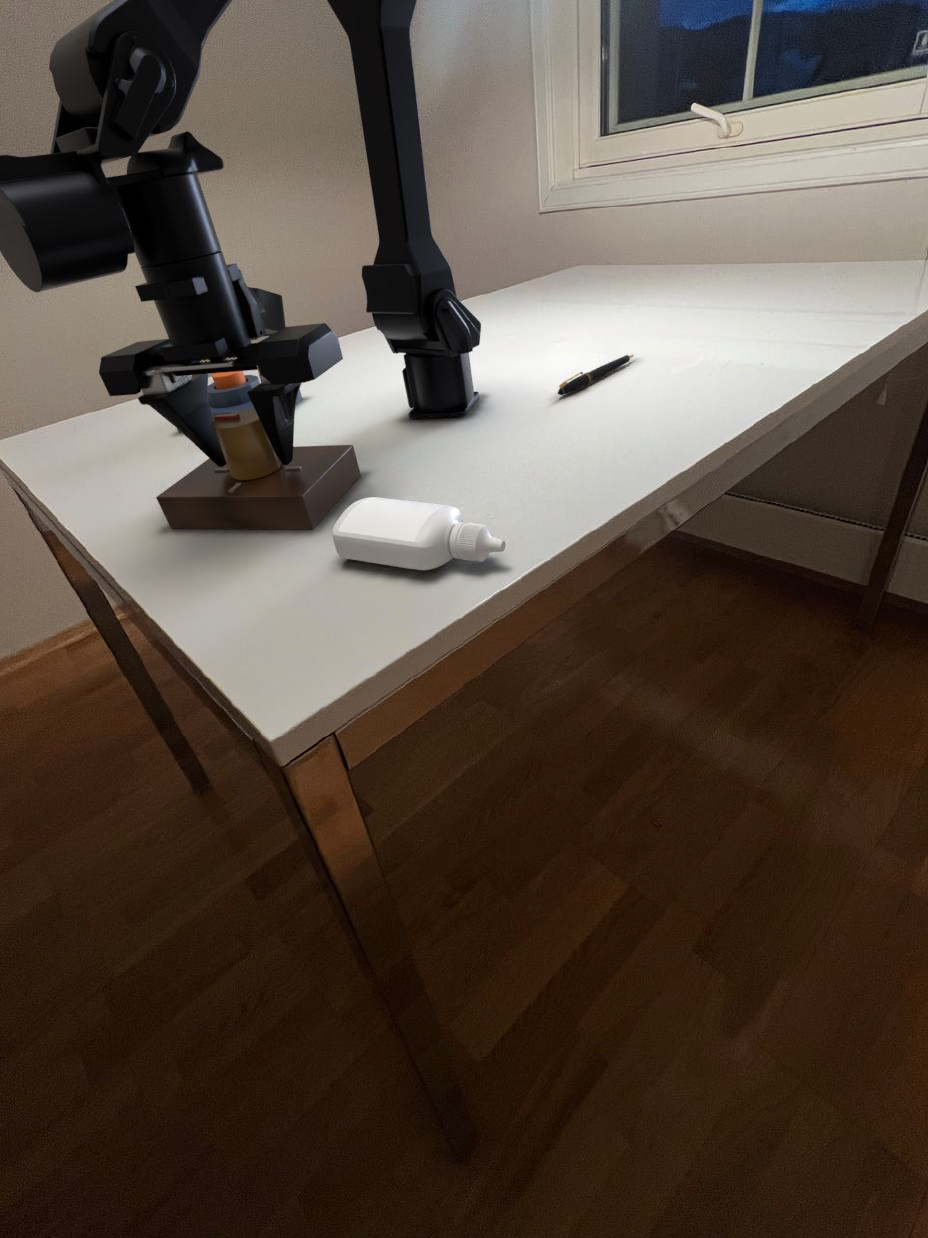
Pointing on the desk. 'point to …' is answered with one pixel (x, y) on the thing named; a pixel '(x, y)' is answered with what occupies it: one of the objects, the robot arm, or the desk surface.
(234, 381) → the orange button
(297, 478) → the knob plate
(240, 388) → the button box
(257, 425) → the brass knob
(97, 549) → the desk surface
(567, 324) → the desk surface
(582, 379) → the fountain pen
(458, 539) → the eye dropper bottle
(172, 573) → the desk surface
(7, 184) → the robot arm
